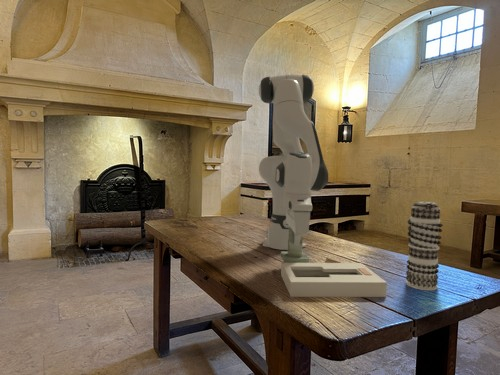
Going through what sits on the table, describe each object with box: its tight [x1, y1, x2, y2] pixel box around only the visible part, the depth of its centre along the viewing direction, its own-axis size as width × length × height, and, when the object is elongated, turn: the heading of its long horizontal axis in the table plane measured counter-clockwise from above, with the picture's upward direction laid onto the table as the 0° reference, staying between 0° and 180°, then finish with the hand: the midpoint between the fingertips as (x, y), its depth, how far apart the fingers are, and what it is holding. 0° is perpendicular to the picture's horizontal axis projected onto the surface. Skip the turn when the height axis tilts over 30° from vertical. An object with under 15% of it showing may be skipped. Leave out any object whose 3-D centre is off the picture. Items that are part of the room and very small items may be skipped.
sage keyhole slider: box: [280, 227, 310, 263], centre depth 112 cm, size 8×8×10 cm
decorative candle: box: [405, 201, 444, 292], centre depth 100 cm, size 9×9×25 cm
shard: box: [324, 257, 341, 263], centre depth 119 cm, size 11×8×2 cm
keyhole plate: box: [280, 262, 388, 298], centre depth 99 cm, size 18×26×4 cm
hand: (294, 242), depth 112 cm, fingers closed on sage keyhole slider, 4 cm apart
